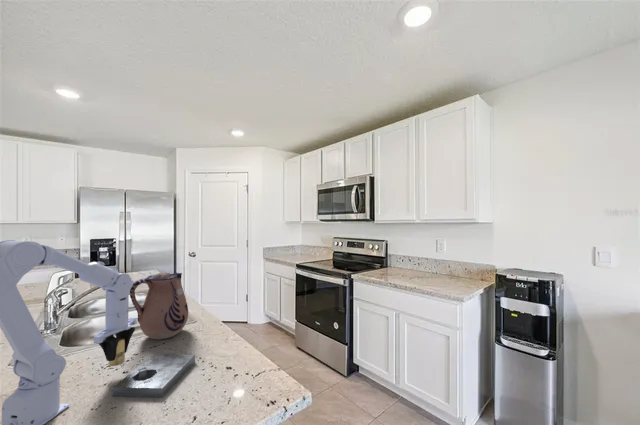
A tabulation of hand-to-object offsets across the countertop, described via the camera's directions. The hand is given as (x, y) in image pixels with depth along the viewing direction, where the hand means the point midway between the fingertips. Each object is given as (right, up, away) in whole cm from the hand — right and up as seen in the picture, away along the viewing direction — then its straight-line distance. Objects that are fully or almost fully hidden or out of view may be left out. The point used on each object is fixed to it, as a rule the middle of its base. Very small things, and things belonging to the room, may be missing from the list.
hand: (116, 356), depth 84 cm
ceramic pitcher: (-3, -7, +28) cm, 29 cm away
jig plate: (+13, -6, -1) cm, 14 cm away
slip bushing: (0, -2, 0) cm, 2 cm away
